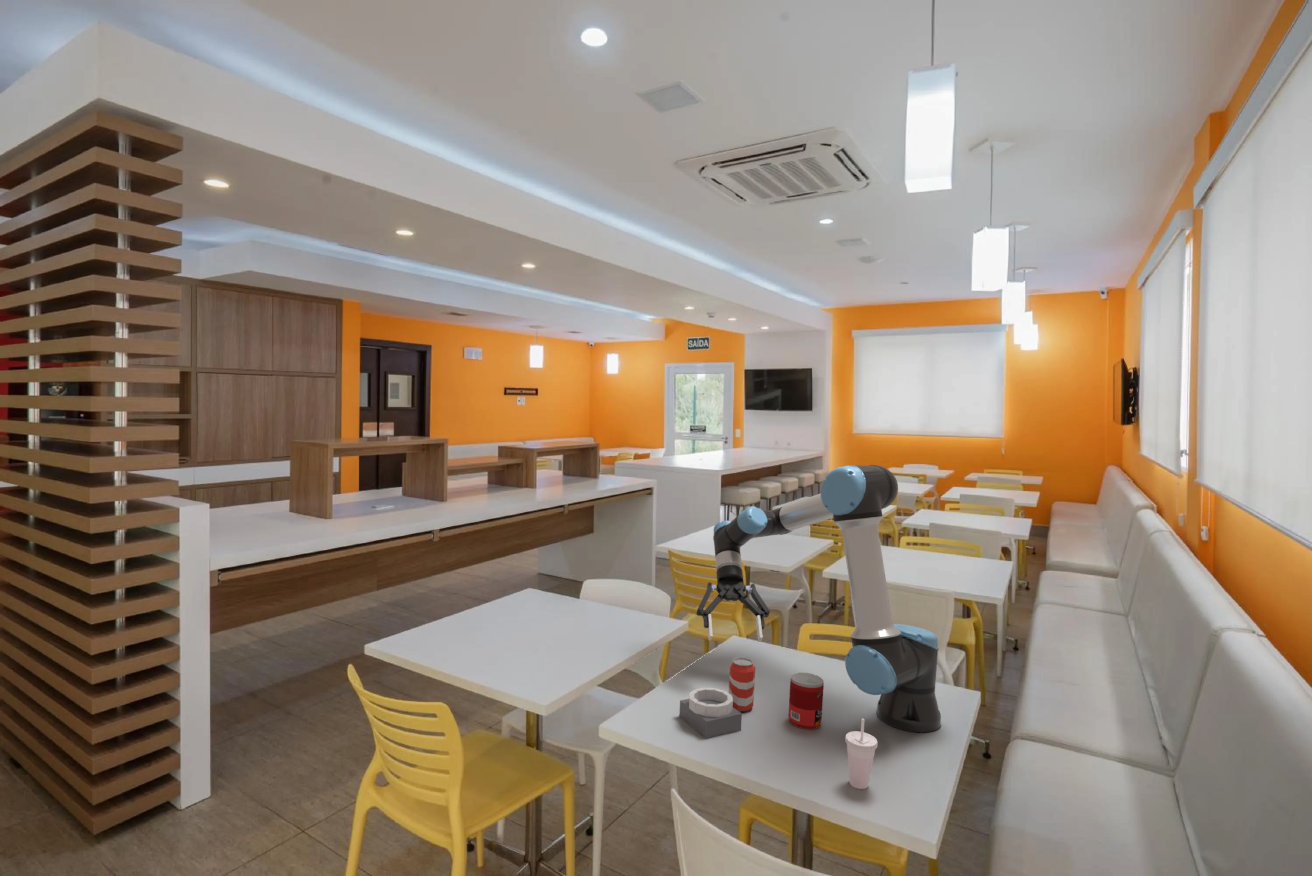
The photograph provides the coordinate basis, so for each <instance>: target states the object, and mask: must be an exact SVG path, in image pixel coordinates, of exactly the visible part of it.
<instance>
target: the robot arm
mask: <svg viewBox="0 0 1312 876" xmlns="http://www.w3.org/2000/svg"><path fill="white" fill-rule="evenodd" d="M898 494H899V485H898V480H897V478H896V476H895V475H894V473H893V472H892V471H891V470H889V469H888V468H886V467H885V466H881V465H879V464H864V465H863V464H861V465H860V464H858V465H857V464H856V465H855V464H850V465H845V466H839V467H836V468H833V469H832V470H830V471H829V472H828V473H827V474H826V476H825V477H824V479H823V480H822V483H821V486H820V493H818V494H815V495H812V496H809V497H807V498H803V499H800V500H797V501H795V502H793V503H789V504H787V505H784V506H781V507H777V508H775V509H771V510H762V509H761V508H760V507H756V506H755V505H753V506H752V505H751V506H748V507H747V508H746V509H743V511H741V512H740V513H739V514H738V515H737V516H736V517H735V518H734V519H732V520H722V521H720V522H717V523H715V525H714V527H713V537H712V538H713V546H714V557H715V570H716V582H717V583H716V584H712V582H710V581H709V582H708V583H707V584H706V591H705V593H704V594H703V597H702V599H701V601H700V604H699V605H698V607H697V610H696V615H697V616H698V617H699V616H701V617H702V621H703V627H704V629H707V634H708V635H707V636H708V641H709V642H711V641H712V640H713V635H714V634H713V624H712V623H713V622H712V614H711V613H712V612H713V611H714V610H715V608H717V606H718V605H719V604H720V603H721V602H722V601H723V600H725V601H726V602H729V601H732V602H733V601H734V602H737V601H739V602H740V603H741V604H743V605H745V607H746V608H747V609H748V610H749V611H751V613H752V614H753V615H754V616H755V617H756V618H755V626H756V635H757V642H758V643H761V642H762V641H763V638H764V637H763V630H764V629H765V627H766V623H765V618H769V616H770V613H771V611H770V609H769V608H768V606H767V604H766V603H765V601H764V600H763V598H762V597H761V595H760V594H759V592H758V591H757V588H756V587H757V586H756V584H755V583H751V584H750V585H746V584H745V583H744V575H743V565H742V557H741V555H742V554H741V547H742V546H744V545H745V544H747V543H748V542H749V541H750V540H753V539H755V538H756V539H757V538H762V537H769V536H770V537H771V536H781V535H787V534H790V533H792V532H793V531H794V530H797V529H800V528H804V527H807V526H811V525H814V524H818V523H821V522H825V521H827V520H830V519H833V523H834V524H835V525H836V526H838V528H840V530H841V535H842V542H843V543H842V544H843V548H844V554H845V555H844V556H845V560H846V569H847V575H848V581H849V582H848V583H849V588H850V595H851V601H852V608H853V616H854V623H855V629H854V630H853V631H852V632H851V634H850V637H851V645H852V647H851V648H850V649H849V650H848V652H847V654H846V655H845V660H844V661H845V662H844V663H845V670H846V674H847V675H848V677H849V679H850V681H851V682H852V683H853V685H856V686H857V689H859V690H860V691H861V692H863V693H866V694H868V695H871V696H879V695H880V697H879V699H878V701H877V706H876V714H877V717H878V718H879V719H880V720H881V721H882V722H884V723H886V724H888V725H889V726H892V727H894V728H897V729H900V730H902V731H903V730H904V731H908V732H913V733H914V732H915V733H928V732H934V731H936V730H938V729H939V728H940V727H941V720H942V715H941V712H940V710H939V704H938V700H937V697H936V684H937V683H936V680H937V668H938V667H937V665H938V652H939V645H938V644H939V639H938V636H937V635H936V634H935V633H934V632H932V631H930V630H927V629H925V628H922V627H918V626H913V625H908V624H903V623H901V624H900V623H894V622H893V617H892V610H891V605H890V604H891V603H890V597H889V590H888V585H887V577H886V572H885V566H884V564H885V563H884V560H883V552H882V545H881V539H880V534H879V527H878V525H879V523H880V522H881V520H882V519H883V518H884V517H883V511H882V510H884V509H886V508H888V507H889V506H890V505H891V504H893V503H894V502H895V500H896V499H897V495H898ZM715 590H716V592H717V593H718V594H717V595H716V597H715V598H714V599H713V600H711V603H710V604H709V605H708V606H707V607H706V605H707V602H708V601H709V598H710V596H711V593H712V594H713V593H714V591H715ZM746 592H748V593H746ZM748 594H750V596H751V598H752V599H751V598H750V597H748ZM705 607H706V608H705Z"/></svg>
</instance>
